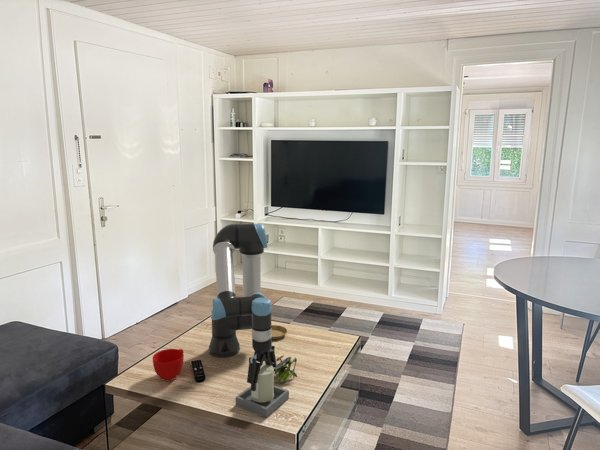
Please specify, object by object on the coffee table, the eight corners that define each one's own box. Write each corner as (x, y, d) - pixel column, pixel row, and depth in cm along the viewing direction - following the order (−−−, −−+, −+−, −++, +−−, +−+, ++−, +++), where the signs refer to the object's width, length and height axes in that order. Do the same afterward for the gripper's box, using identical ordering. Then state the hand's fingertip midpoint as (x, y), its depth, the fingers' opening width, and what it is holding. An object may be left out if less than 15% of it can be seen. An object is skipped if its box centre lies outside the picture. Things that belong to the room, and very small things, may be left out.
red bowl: (195, 367, 198) (194, 347, 196) (172, 387, 182) (171, 365, 180) (171, 363, 202) (170, 343, 200) (147, 381, 186) (146, 360, 185)
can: (270, 404, 166) (270, 375, 164) (247, 401, 168) (247, 372, 166) (276, 390, 175) (276, 363, 173) (254, 388, 177) (254, 361, 175)
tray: (235, 405, 170) (235, 397, 169) (259, 387, 182) (259, 379, 182) (266, 418, 162) (266, 409, 161) (288, 398, 174) (288, 390, 174)
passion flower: (280, 385, 194) (283, 357, 199) (301, 386, 189) (304, 358, 194) (267, 381, 185) (271, 352, 190) (289, 383, 180) (293, 353, 185)
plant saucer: (287, 329, 240) (287, 325, 240) (286, 341, 226) (286, 336, 226) (261, 329, 240) (261, 325, 240) (258, 341, 226) (258, 336, 226)
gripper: (252, 351, 156) (253, 408, 160) (285, 330, 174) (285, 381, 178) (236, 346, 160) (237, 401, 164) (270, 326, 178) (270, 376, 182)
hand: (262, 391), depth 171 cm, fingers closed on can, 9 cm apart
